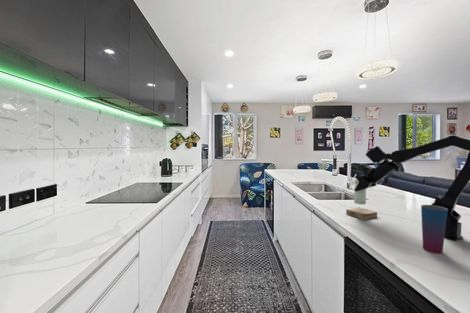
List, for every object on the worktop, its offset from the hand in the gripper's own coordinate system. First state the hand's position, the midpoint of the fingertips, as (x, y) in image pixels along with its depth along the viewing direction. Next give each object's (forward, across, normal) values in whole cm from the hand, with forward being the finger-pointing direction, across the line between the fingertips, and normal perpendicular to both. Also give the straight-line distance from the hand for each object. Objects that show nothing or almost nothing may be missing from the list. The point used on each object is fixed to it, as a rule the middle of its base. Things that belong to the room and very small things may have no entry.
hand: (357, 190), depth 114 cm
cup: (-14, +20, +33) cm, 41 cm away
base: (+8, -2, +10) cm, 14 cm away
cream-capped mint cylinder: (+4, 0, +6) cm, 7 cm away
